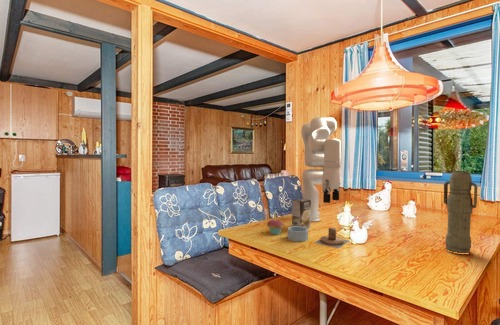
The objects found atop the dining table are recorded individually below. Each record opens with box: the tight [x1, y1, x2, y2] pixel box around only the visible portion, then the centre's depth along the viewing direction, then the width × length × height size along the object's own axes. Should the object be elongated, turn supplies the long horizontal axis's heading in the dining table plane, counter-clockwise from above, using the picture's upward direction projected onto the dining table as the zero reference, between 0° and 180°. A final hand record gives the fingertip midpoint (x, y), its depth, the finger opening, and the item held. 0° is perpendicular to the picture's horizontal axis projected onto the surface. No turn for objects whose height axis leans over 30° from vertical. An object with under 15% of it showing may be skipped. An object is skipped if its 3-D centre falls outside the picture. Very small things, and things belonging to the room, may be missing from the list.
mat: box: [313, 238, 350, 249], centre depth 136 cm, size 14×12×1 cm
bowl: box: [287, 226, 309, 242], centre depth 141 cm, size 10×10×5 cm
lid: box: [320, 227, 345, 245], centre depth 136 cm, size 11×11×6 cm
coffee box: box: [291, 198, 311, 230], centre depth 160 cm, size 9×6×16 cm
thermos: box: [443, 170, 478, 253], centre depth 125 cm, size 9×12×35 cm
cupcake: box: [266, 212, 284, 235], centre depth 150 cm, size 9×8×12 cm
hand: (331, 201), depth 136 cm, fingers open, 9 cm apart
